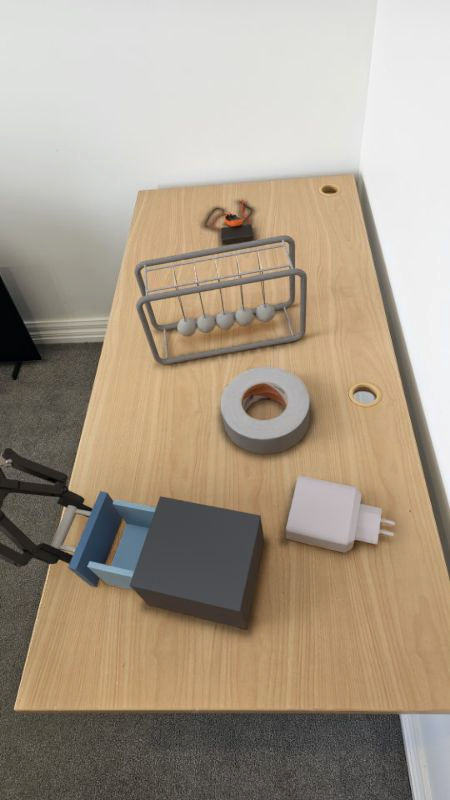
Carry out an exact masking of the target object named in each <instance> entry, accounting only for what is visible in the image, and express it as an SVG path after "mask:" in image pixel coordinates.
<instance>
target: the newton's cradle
mask: <svg viewBox="0 0 450 800" xmlns="http://www.w3.org/2000/svg"><path fill="white" fill-rule="evenodd" d="M278 243H279V244H278ZM280 243H281V244H280ZM286 243H287V244H288V248H287V245H286ZM274 244H277V245H274ZM267 245H268V246H267ZM269 245H271V246H269ZM263 246H265V247H263ZM257 247H258V248H257ZM259 247H261V248H259ZM253 248H254V249H253ZM278 248H284V252H285V255H286V258H287V260H288V264H282V265H277V266H272V267H265V268H263V266H262V262H261V259H260V255H259V252H261V251H266V250H272V249H278ZM246 249H249V250H246ZM241 250H244V251H241ZM235 251H238V252H235ZM230 252H234V253H230ZM225 253H228V254H225ZM250 253H256V256H257V263H258V269H255V270H250V271H245V272H244V271H243V272H241V269H240V264H239V261H238V256H239V255H244V254H250ZM219 254H222V255H219ZM214 255H216V256H214ZM209 256H212V257H209ZM234 256H235V260H236V261H235V262H236V269H237V273H234V274H228V275H221V276H219V271H218V265H217V260H219V259H224V258H229V257H234ZM203 257H205V258H203ZM198 258H200V259H198ZM191 259H192V260H191ZM193 259H195V260H193ZM187 260H190V261H187ZM212 260H214V264H215V265H214V266H215V270H216V276H217V277H212V278H207V279H201V280H199V279H198V274H197V270H196V263H201V262H206V261H212ZM181 261H184V262H181ZM176 262H179V263H176ZM172 263H173V264H172ZM165 264H166V265H165ZM190 264H193V269H194V274H195V281H190V282H185V283H179V284H178V280H177V275H176V272H175V267H179V266H184V265H190ZM160 265H163V266H160ZM155 266H156V267H155ZM149 267H150V268H149ZM151 267H152V268H151ZM169 268H172V273H173V276H174V277H173V281H174V285H169V286H161V287H157V288H152V289H149V288H148V272H152V271H159V270H163V269H169ZM283 268H287V269H284V270H278V269H283ZM142 270H143V273H144V278H143V275H142V272H141V271H142ZM273 270H278V271H273ZM133 271H134V276H135V279H136V282H137V286H138V288H139V291H140V294H141V297H140V298H139V299H138V300H137V301H136V304H135V309H136V311H137V315H138V318H139V320H140V324H141V326H142V329H143V332H144V334H145V338H146V340H147V343H148V346H149V349H150V351H151V355H152V357H153V360H154V361H155V362H156V363H157V364H160V365H172V364H177V363H182V362H187V361H194V360H198V359H204V358H209V357H210V358H211V357H216V356H220V355H228V354H232V353H237V352H243V351H249V350H253V349H259V348H266V347H271V346H276V345H280V344H281V345H282V344H288V343H293V342H296V341H299V340H301V339H302V338H303V337H304V336H305V334H306V332H307V299H308V298H307V296H308V295H307V294H308V293H307V291H308V276H307V273H306V271H304V270H303V269H301V268H296V242H295V240H294V238H292V236H290V235H278V236H272V237H266V238H260V239H255V240H253V241H247V242H238V243H232V244H227V245H223V246H217V247H212V248H207V249H201V250H196V251H190V252H185V253H180V254H175V255H174V254H173V255H168V256H164V257H157V258H153V259H147V260H142V261H140V262H138V263H137V264H136V266H135V267H134V270H133ZM267 271H273V272H267ZM264 272H267V273H264ZM257 273H259V274H257ZM252 274H256V275H252ZM247 275H250V276H247ZM242 276H244V277H242ZM296 276H298V277H299V278H300V280H299V282H300V284H299V289H300V290H299V295H300V296H299V331H298V333H297V334H294V331H293V327H292V323H291V321H290V318H289V314H288V311H287V309H288V308H290V307H292V306H293V304H294V303H295V301H296ZM234 277H238V278H234ZM287 277H289V279H288V281H289V282H288V283H289V288H288V289H289V299H288V301H286V302H283V303H278V304H272V305H271V304H270V303H268V302H266V295H265V283H264V282H265V281H270V280H276V279H281V278H287ZM229 278H234V279H229ZM224 279H227V280H224ZM228 279H229V280H228ZM220 280H223V281H220ZM212 281H217V282H212ZM207 282H212V283H207ZM259 282H260V286H261V293H262V301H263V303H261V304H259V305H257V307H255V308H249V307H246V306H245V305H244V303H245V302H244V294H243V292H244V291H243V285H248V284H254V283H259ZM203 283H207V284H203ZM201 284H202V285H201ZM192 285H195V286H192ZM185 286H190V287H185ZM238 286H239V289H240V290H239V291H240V298H241V305H242V306H241V307H239V308H238V309H237V310H236V311H234V312H231V311H229V310H225V307H224V300H223V295H222V289H226V288H227V289H228V288H233V287H238ZM179 287H185V288H180V289H179ZM168 289H169V290H168ZM170 289H174V290H170ZM165 290H168V291H165ZM217 290H219V295H220V299H221V300H220V301H221V305H222V306H221V307H222V311H220V312H218V313H217V314H216V315H211V314H208V313H205V309H204V304H203V299H202V294H201V293H204V292H211V291H217ZM158 291H159V292H158ZM160 291H162V292H160ZM153 292H158V293H153ZM149 293H152V294H149ZM193 294H198V295H199V300H200V304H201V308H202V314H201V315H200V316H198V317H197V318H195V319H192V318H191V317H185V311H184V306H183V302H182V298H181V297H183V296H188V295H193ZM171 298H177V299H178V302H179V306H180V309H181V313H182V316H183V318H181V319H180V320H179V321H178V322H173V323H168V324H164V325H163V324H159V323H158V321H157V319H156V316H155V313H154V309H153V307H152V303H151V302H156V301H160V300H166V299H171ZM144 307H145V309H146V312H145V310H144ZM280 310H283V311H284V314H285V317H286V321H287V324H288V328H289V330H290V334H291V335H289V336H285V337H284V336H283V337H278V338H273V339H266V340H261V341H256V342H251V343H244V344H239V345H233V346H229V347H228V346H227V347H223V348H218V349H212V350H207V351H206V350H205V351H202V352H196V353H190V354H185V355H180V356H179V355H178V356H174V357H173V356H172V357H169V353H168V341H167V331H170V330H176V329H177V331H178V333H179V334H180V335H181V336H182V337H187V338H190V337H192V336H193V335H194V334H195V333H196V331H197V329H198V331H199V332H201V333H203V334H210V333H212V332H213V331H214V330H215V328H216V326H217V327H218V328H219V329H221V330H222V331H223V330H224V331H227V330H230V329H231V328H233V326H234V325H235V322H236V323H237V325H239V326H241V327H248V326H249V325H251V324H253V322H254V319H255V316H256V318H257V320H259V321H260V322H261V323H269V322H271V321H272V320H274V318H275V317H276V311H280ZM146 313H147V315H148V318H149V321H150V324H151V326H152V328H154V329H155V330H157V331H161V332H163V336H164V337H163V338H164V350H165V358H163V357H160V355H159V352H158V349H157V345H156V342H155V339H154V337H153V336H154V335H153V333H152V331H151V327H150V325H149V322H148V318H147V316H146Z"/></svg>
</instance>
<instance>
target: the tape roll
mask: <svg viewBox="0 0 450 800" xmlns="http://www.w3.org/2000/svg"><path fill="white" fill-rule="evenodd" d="M262 400H263V401H264V400H271V401H275V402H278V403H279V404H281V405H282V406H283V408H284V410H283V411H282V412H281V413H280V414H278V415H277V416H275V417H273V418H269V419H258V418H255V417H252V416H250V414H248V413H247V410H248V409H249V408H250V407H251V406H252V405H253V404H254V403H255V404H256V403H257V402H259V401H262ZM219 405H220V406H219V407H220V413H221V417H222V422H223V423H222V424H223V427H224V430H225V433H226V434H227V436H228V438H229V439H230V440H231V442H233V444H235V445H236V446H237V447H239V448H240V449H242V450H244V451H247V452H249V453H253V454H257V455H271V454H277V453H281V452H284V451H287V450H288V449H290V448H293V446H295V445H296V444H298V443H299V442H300V441H301V439H302V438H303V437H304V435H306V432H307V431H308V428H309V426H310V418H311V400H310V393H309V390H308V388H307V386H306V385H305V383H304V382H303V380H302V379H301V378H299V377H297V375H295V374H294V373H292V372H291V371H287V370H285V369H283V368H281V367H276V366H275V367H274V366H258V367H253V368H250V369H246V370H244V371H242V372H241V373H239V374H237V375H236V376H235V377H234V378H233V379H232V380H231V381H230V382H229V383H228V384H227V385H225V388H224V389H223V391H222V394H221V396H220V404H219Z"/></svg>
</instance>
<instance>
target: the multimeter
mask: <svg viewBox="0 0 450 800" xmlns="http://www.w3.org/2000/svg"><path fill="white" fill-rule="evenodd" d="M238 202H239V203H241V212H243V211H244V207H246V208H247V209H248V210H250V213H249V215H251V214H252V213H253V212H252V209H251V207H250V206H248V205H246V204H245V203H244V198H243V197H242V199H241V201H240V200H238ZM217 209H219V210H221V211H222V213H220V214H219V215H217V216H216V217H215V218H214V220H213V221H212V223H211V224H210V225H209V226H208V225H207V221H208V220H209V218H210V216H211V215H212V214H213V212H214V211H215V210H217ZM221 215H222V216H224V223H225V224H226V225H228V226H223V227H220V228H217V227H215V226H212V225H214V222H216V220H217V218H218V217H219V216H221ZM242 216H243V217H245V219H244V220H243V218H241V217H239V216H238V215H236V214H234V213H233V214H232V213H231V212H230V211H227V212H224V209H223V208H220V207H216V208H214V209H213V210H212V211H211V212H210V214H209V215H208V217H207V218H206V221H205V223H204V224H205V225H204V226H205V227H207V228H213V229H216V230H218V231H220V235H221V243H222V245H231V244H239V243H244V242H249V241H254V234H253V233H254V232H253V226H252V224H250V223H251V219H250V218H249V216H246V215H244V214H242ZM246 220H249V222H248V223H247V224H243V223H244V222H246Z"/></svg>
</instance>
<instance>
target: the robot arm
mask: <svg viewBox="0 0 450 800" xmlns="http://www.w3.org/2000/svg"><path fill="white" fill-rule="evenodd" d="M2 467H4V468H10V467H11V468H13V469H14V470H17V471H20V472H22V473H25V474H28V475H30V476H33V477H36V478H38V479H42V480H43V481H46V482H50V483H52V484H48V483H38V482H30V481H23V480H19V479H12V478H7V477H6V475H5V472H4V471H3V469H2ZM68 480H69V477H68V475H67V474H66V473H64V472H62V471H59V470H56V469H54V468H51V467H49V466H46V465H43V464H41V463H39V462H35V461H33V460H30V459H28V458H25V457H23V456H21V455H19V453H17V452H16V451H15V450H14V449H12V448H11V447H6V448H5V449H3V451H2V452H0V532H1V533H2V534H3V535H4V536H5V537H6V538H7V539H8V540H10V541H11V543H12V544H13V545H15V546H16V548H18V549H19V550H20V551H21V552H22V553H20V552H19V551H16V550H15V549H14V548H13V549H12V548H11V547H10V546H7V545H5V544H4V543H2V542H0V559H1V560H3V561H6V562H8V563H9V564H11V565H13V566H15V567H16V568H21V567H26V566H27V565H28V564H29V563H30V561H31V560H32V559H36V560H38V561H41V562H43V563H45V564H48V565H57V564H58V562H59V561H61V562H63V563H66V564H68V565H69V564H70V562H71V559H72V557H73V555H74V554H71V553H68V552H67V551H65V550H59V549H57V548H55V547H52V546H50V545H51V544H47V543H45V542H42V543H38V544H36V543H35V542H33V540H31V538H30V537H29V536H27V534H25V532H23V531H22V530H21V529H20V528H19V527H18V526H17V525H16V524H15V523H14V522H13V521H12V520H11V519H9V517H7V516H6V513H5V512H3V510H1V509H2V507H3V506H4V500H5V499H6V498H7V497H8V496H9V494H23V495H32V496H41V497H52V498H58V500H57V502H56V504H57V505H60V506H61V507H63V508H66V509H67V507H68V505H72V506H75V507H77V508H78V509H80V510H85V511H89V512H91V511H92V509H93V507H90V506H89V505H86V504H84V503H85V500H86V498H85V497H83V496H82V495H80V494H77V493H76V492H74V491H72V490H70V489H69V487H68V486H67V481H68ZM82 516H83V517H85V518H87V519H89V516H84V515H82Z"/></svg>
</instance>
